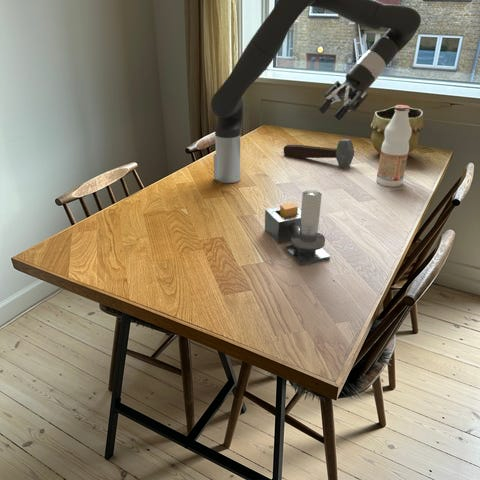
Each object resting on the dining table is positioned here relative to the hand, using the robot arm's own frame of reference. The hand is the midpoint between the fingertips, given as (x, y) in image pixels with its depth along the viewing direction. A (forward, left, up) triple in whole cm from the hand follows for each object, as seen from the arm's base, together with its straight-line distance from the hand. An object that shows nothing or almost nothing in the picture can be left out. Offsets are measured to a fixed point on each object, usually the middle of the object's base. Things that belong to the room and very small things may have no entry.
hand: (328, 115), depth 130 cm
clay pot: (+11, +64, -31) cm, 72 cm away
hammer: (-16, +44, -31) cm, 56 cm away
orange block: (-3, -20, -30) cm, 36 cm away
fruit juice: (+16, +34, -31) cm, 49 cm away
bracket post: (+2, -25, -31) cm, 40 cm away
